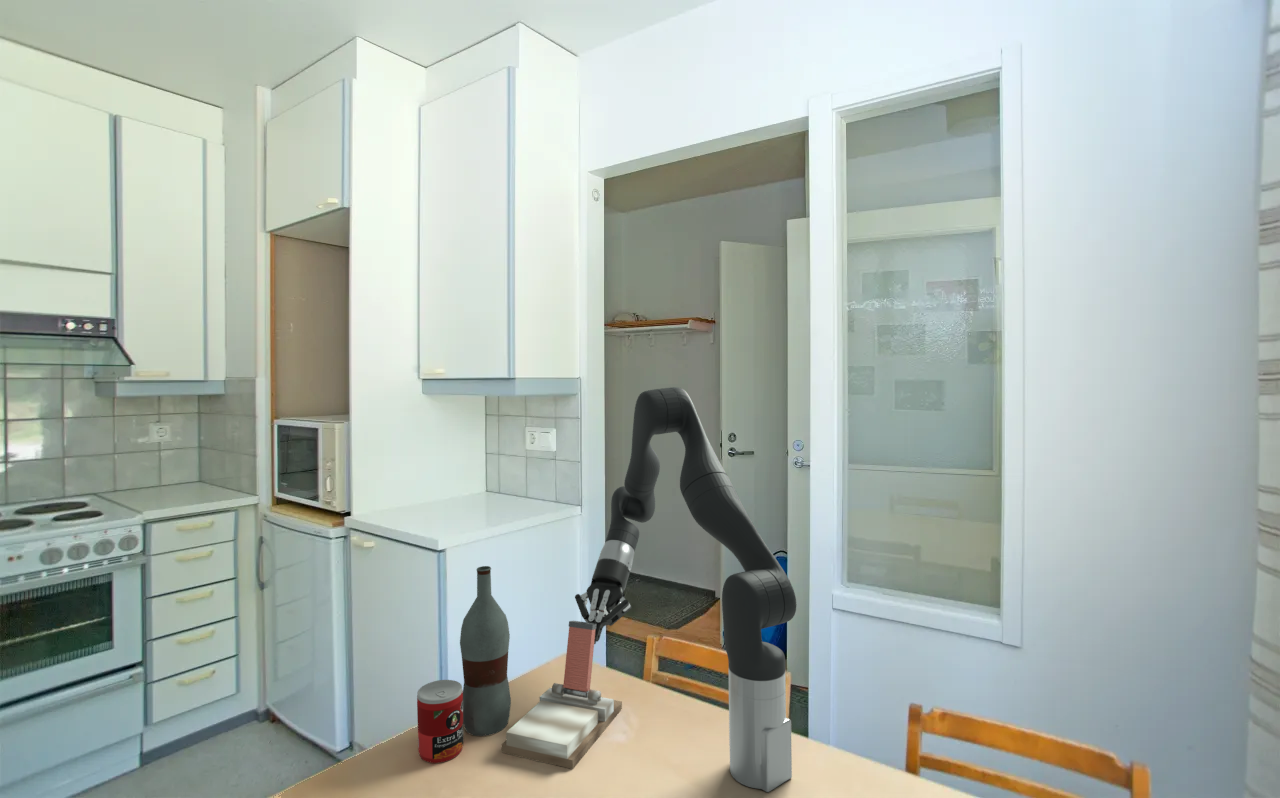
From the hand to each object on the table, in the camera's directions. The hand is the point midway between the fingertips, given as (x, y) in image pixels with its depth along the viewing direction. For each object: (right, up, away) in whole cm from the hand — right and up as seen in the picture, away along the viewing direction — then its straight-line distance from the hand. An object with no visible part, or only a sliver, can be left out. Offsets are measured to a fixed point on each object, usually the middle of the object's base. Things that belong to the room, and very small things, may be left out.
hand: (590, 642), depth 127 cm
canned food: (-25, -13, -16) cm, 33 cm away
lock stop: (-2, -7, -6) cm, 10 cm away
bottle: (-19, -13, -8) cm, 24 cm away
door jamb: (-4, -13, -10) cm, 16 cm away
